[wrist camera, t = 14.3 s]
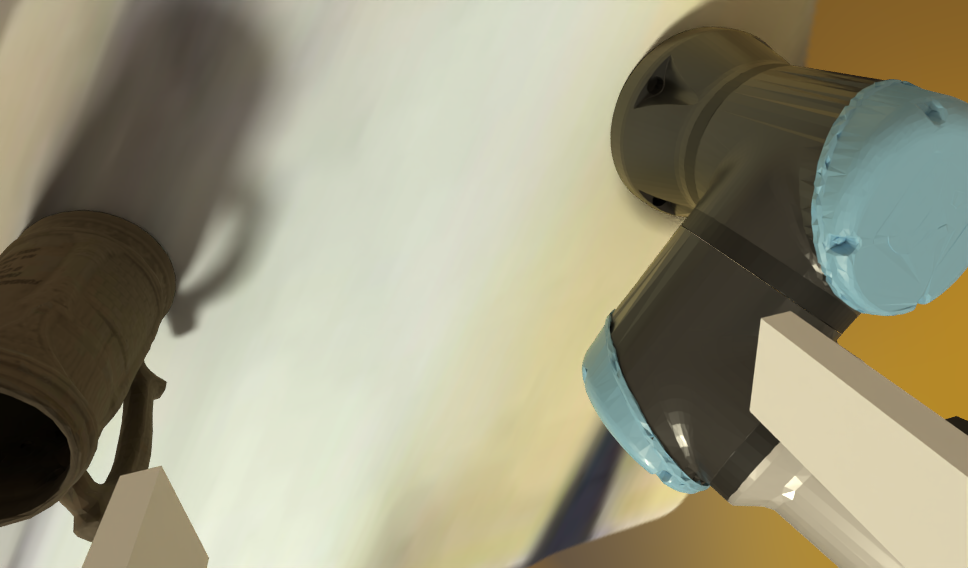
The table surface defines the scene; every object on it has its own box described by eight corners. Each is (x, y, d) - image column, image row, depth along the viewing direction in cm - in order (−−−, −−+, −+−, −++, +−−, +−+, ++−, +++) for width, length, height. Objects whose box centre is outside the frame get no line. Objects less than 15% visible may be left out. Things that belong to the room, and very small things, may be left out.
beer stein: (-37, 255, 41) (-257, 470, 25) (87, 171, 41) (-53, 333, 24) (138, 385, 50) (61, 609, 33) (242, 316, 50) (217, 510, 33)
